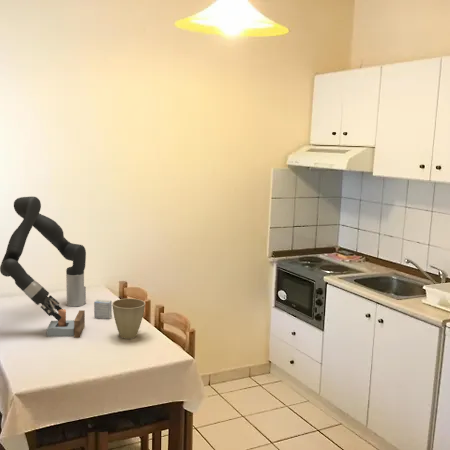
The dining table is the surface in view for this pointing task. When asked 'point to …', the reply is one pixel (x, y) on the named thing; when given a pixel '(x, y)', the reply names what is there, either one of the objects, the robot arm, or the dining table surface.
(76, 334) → the backstop wall
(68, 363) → the dining table surface
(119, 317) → the plant pot
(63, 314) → the dowel
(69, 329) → the pocket block
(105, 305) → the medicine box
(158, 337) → the dining table surface
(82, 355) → the dining table surface
